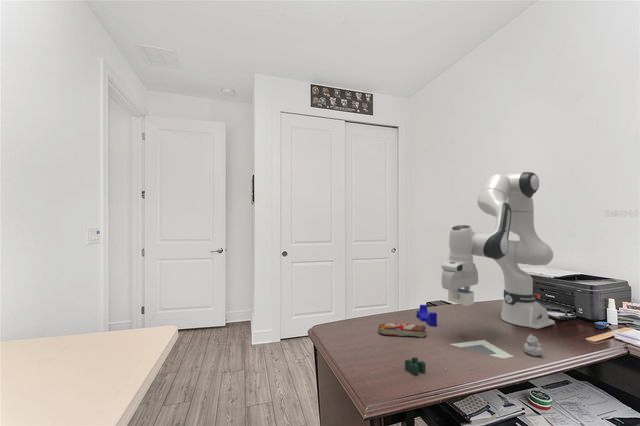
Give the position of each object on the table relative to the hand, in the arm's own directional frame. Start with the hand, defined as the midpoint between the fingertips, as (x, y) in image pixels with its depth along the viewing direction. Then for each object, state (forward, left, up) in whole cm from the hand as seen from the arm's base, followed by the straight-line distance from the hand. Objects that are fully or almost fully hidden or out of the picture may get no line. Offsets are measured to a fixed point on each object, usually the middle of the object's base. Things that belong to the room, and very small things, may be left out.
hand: (460, 297), depth 112 cm
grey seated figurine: (-16, +18, -17) cm, 29 cm away
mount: (+34, +20, -17) cm, 43 cm away
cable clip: (+4, -18, -17) cm, 25 cm away
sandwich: (+23, -7, -17) cm, 29 cm away
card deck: (0, 0, -2) cm, 2 cm away
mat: (+3, +12, -16) cm, 20 cm away
